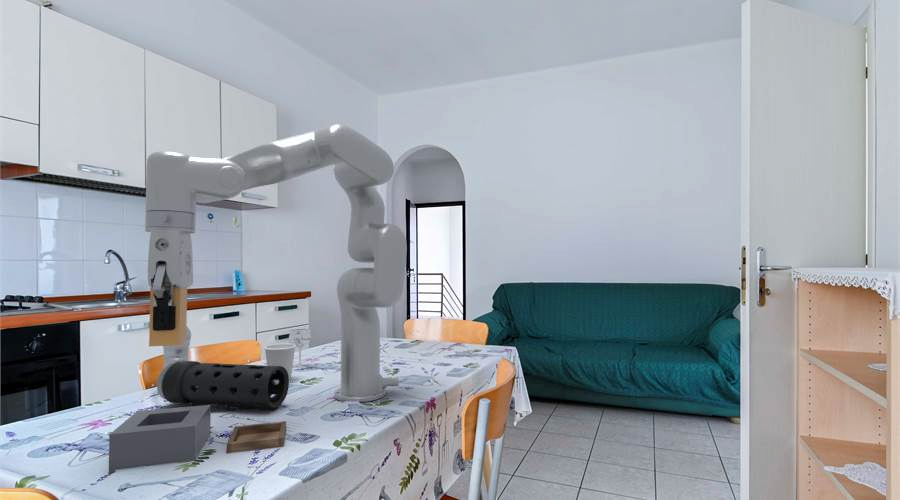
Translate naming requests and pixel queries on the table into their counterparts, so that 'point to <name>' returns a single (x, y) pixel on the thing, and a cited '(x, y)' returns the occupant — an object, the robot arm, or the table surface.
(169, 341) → the plug
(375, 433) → the table surface
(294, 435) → the table surface
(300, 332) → the wineglass
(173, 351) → the plastic bottle
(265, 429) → the tray
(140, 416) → the socket block
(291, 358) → the dixie cup
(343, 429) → the table surface
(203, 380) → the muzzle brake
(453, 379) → the table surface
